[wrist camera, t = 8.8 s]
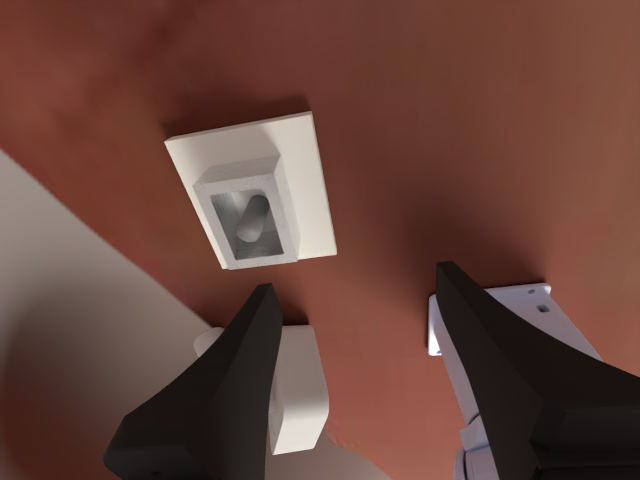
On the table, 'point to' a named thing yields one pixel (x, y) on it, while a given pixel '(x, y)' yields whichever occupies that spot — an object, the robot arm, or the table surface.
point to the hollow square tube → (225, 217)
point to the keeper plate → (253, 206)
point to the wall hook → (291, 389)
